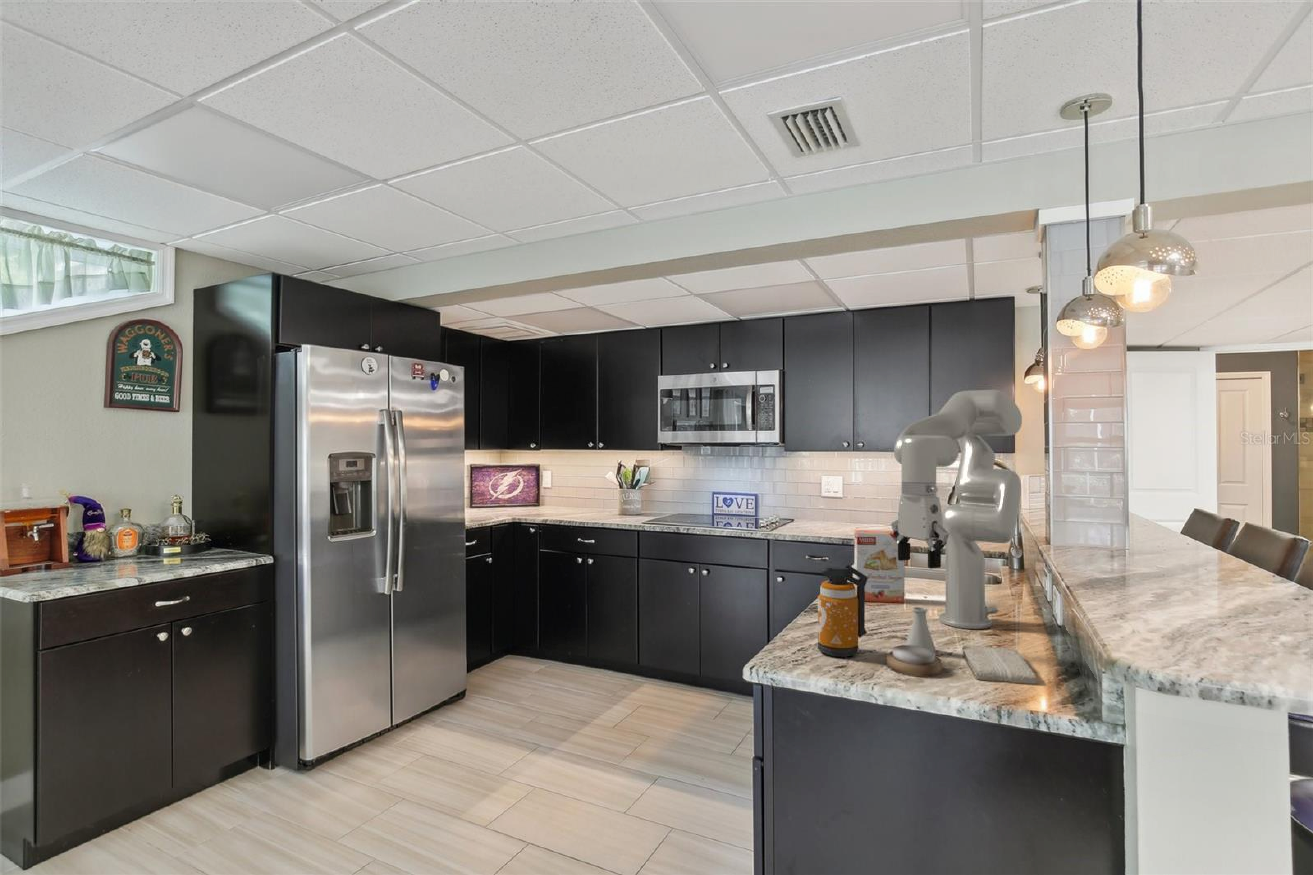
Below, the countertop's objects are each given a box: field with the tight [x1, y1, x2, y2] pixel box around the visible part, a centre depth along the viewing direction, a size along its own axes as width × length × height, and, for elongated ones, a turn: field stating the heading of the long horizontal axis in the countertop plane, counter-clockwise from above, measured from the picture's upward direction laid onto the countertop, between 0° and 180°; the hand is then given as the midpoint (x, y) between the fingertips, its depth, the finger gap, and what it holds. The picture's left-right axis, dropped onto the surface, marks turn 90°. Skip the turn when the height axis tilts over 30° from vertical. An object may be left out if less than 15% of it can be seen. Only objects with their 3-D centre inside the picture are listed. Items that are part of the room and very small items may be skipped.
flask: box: [904, 606, 937, 654], centre depth 155 cm, size 7×7×10 cm
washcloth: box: [961, 644, 1038, 685], centre depth 145 cm, size 12×18×3 cm, turn 166°
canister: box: [817, 564, 868, 658], centre depth 155 cm, size 9×11×20 cm
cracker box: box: [853, 529, 906, 604], centre depth 203 cm, size 14×6×21 cm, turn 81°
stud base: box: [886, 644, 942, 678], centre depth 145 cm, size 11×11×4 cm
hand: (918, 563), depth 155 cm, fingers open, 9 cm apart
